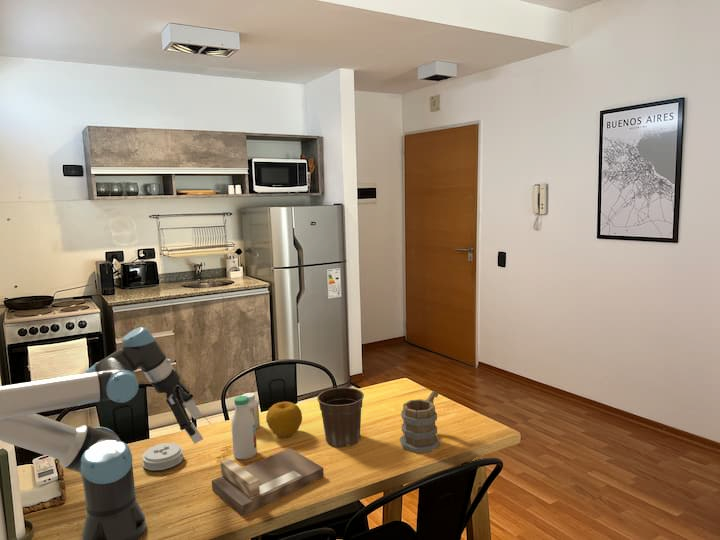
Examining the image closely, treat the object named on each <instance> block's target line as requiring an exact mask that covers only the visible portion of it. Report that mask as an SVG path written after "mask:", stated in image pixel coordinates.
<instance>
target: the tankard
mask: <svg viewBox="0 0 720 540" xmlns="http://www.w3.org/2000/svg"><path fill="white" fill-rule="evenodd" d="M438 396H439V392H438V391H435V390H432V391H431V392H430V394H429V396H428V397H427V399H410V400H408V401H406V402H405V403H402V404H403V405H402V410H401V413H400V414H401V418H402V421H403V423H402V424H401V432H402V434H403V435H401V436H400V437H399V442H400V445H401V447H402V449H403V450H405V451H409V452H412V453H414V454H415V453H416V454H421V453H430V452H433V451H435V449H437V448H438V447H439V446H440V444H441V443H440V440H439V438H438V436H437V434H438V427H437V425H436V421H438V413H437V411H436V405H435V404H434V400H435V398H438Z"/></svg>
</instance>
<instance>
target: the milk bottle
mask: <svg viewBox="0 0 720 540" xmlns="http://www.w3.org/2000/svg"><path fill="white" fill-rule="evenodd" d="M248 404H249V398H248V397H247V396H242V395H240V396H236V397H235V398H234V406H235V409H234V413H233V415H232V419H231V437H232V452H233V457H234V458H235V459H238V460H241V459H242V460H250V459H251V458H254V457H255V456H256V455H257V453H258V446H257V432H256V430H257V429H255V421H254V417H253V415H252V413H251V411H250V409H249V406H248Z"/></svg>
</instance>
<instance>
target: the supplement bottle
mask: <svg viewBox="0 0 720 540" xmlns="http://www.w3.org/2000/svg"><path fill="white" fill-rule="evenodd" d="M241 396H247V397H248V398H249V404H248V406H249V409H250V411H251V413H252V415H253V417H254V421H255V430H257V429H259V428H260V426H261V423H260V412H259V402H258V400H257V399H256V394H255V393H253V392H247V393H243V394H242V395H241Z"/></svg>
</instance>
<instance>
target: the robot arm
mask: <svg viewBox="0 0 720 540" xmlns="http://www.w3.org/2000/svg"><path fill="white" fill-rule="evenodd" d="M121 342H122V346H121V347H120V348H119V349H117V350H115V351H114V352H112V353H111V354H109V355H108V356H105V357H104V358H103V359H101V360H99V361H98V362H95V363H94V364H93V365H92V366H91V367H89V368H88V369H87V370H86V372H85V373H80V374H72V375H66V376H61V377H60V376H58V377H54V378H53V377H52V378H48V379H47V378H46V379H41V380H40V379H39V380H33V381H28V382H19V383H14V384H13V383H12V384H6V385H0V440H1V441H0V442H4V443H7V444H10V445H12V446H16V447H19V448H23V449H25V450H29V451H31V452H34V453H37V454H41V455H44V456H48V457H50V458H52V459H53V458H54V459H57V460H59V463H60V466H61V467H62V468H63V469H67V470H70V471H73V472H75V473H79V474H80V477H81V481H82V485H83V491H84V499H85V506H86V514H85V515H86V516H85V520H84V524H83V528H82V532H81V533H82V534H81V539H82V540H138V539H139V538H140V537H141V536H142V535H143V534H144V533H145V531H146V528H147V524H146V522H147V521H146V516H145V514H144V512H143V510H142V508H141V507H140V504H139V502H138V500H137V496H136V495H137V494H136V485H135V478H134V476H135V475H134V467H133V453H132V452H131V448H130V446H129V445H128V444H127V443H125V442H124V441H122V440H121V439H120V437H119V435H118V434H117V433H116V432H114V431H113V430H112V429H110V428H108V427H104V426H93V427H92V426H90V425H87V424H82V425H80V426H77V427H75V426H71V425H68V424H66V423H62V422H61V421H57V420H55V419H51V418H49V417H46V416H43V415H41V414H40V413H44V412H50V411H54V410H61V409H66V408H67V409H68V408H71V407H76V406H83V405H88V404H94V403H99V402H105V401H109V400H111V401H113V402H115V403H127V402H130V401H131V400H132V399H133V398H135V396H136V395H137V394H138V391H139V386H140V384H139V381H138V379H137V377H136V375H135V371H137V370H138V369H140V370H141V371H142V373H143V374H144V376H145V377H146V380H148V381H149V383H150V384H151V386H152V387H153V389H154V390H155V391H156V393H158V394H162V393H163V394H166V395H165V396H166V400H165V401H166V404H168V406H169V407H170V410H171V411H172V414H173V416H174V418H175V419H176V422H177V423H178V426H179V429H180V430H181V431H184V430H185V432H186V433H187V435H188V437H189V438H190V439H191V441H192V443H193V444H194V445H195V444H198V443H199V442H201V441H203V440H204V437H203V436H202V434H201V433H200V431H199V430H198V428H197V427H196V426H195V424H194V422H193V421H191V419H190V417H189V415H191V417H192V418H193V420H197V419H198V418H200V417H202V415H203V413H202V412H201V410H200V409H199V408H198V406H197V404H196V403H195V401H194V400H193V398H194V395H193V393H191V392H190V391H189V389H188V388H187V387H186V386H185V385H184V384H183V383H182V382H181V381H180V380H181V375H179V373H178V372H177V370H176V368H174V367H173V364H172V360H171V358H169V359H168V357H167V355H166V353H165V352H164V351H163V349H162V347H161V346H160V345H159V343H158V342H157V340H156V338H155V337H154V336H153V334H152V333H151V331H150V330H149V329H148V328H147V327H144V326H141V327H137V328H135V329H132V330H130V331H129V332H128V333H127V334H125V335H124V336H123V338H122V339H121ZM187 411H188V412H187ZM38 413H39V414H38ZM188 413H189V414H188Z"/></svg>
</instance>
